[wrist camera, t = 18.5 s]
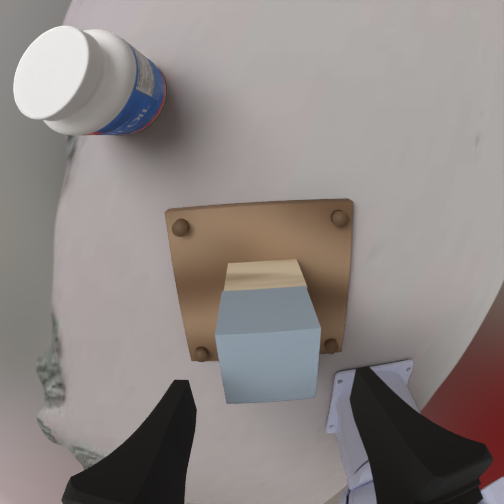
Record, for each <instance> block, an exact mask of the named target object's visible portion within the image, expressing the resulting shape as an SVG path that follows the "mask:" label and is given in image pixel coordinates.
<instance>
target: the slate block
mask: <svg viewBox="0 0 504 504" xmlns="http://www.w3.org/2000/svg"><path fill="white" fill-rule="evenodd" d="M320 336H321V326H320V324H319V321H318V318H317V315H316V313H315V310H314V307H313V304H312V302H311V299H310V296H309V293H308V291H307V288H306V286H298V287H284V288H269V289H254V290H237V291H222V294H221V300H220V306H219V312H218V318H217V324H216V331H215V339H216V345H217V352H218V358H219V363H220V369H221V375H222V381H223V386H224V392H225V397H226V403H227V404H238V403H261V402H276V401H288V400H299V399H308V398H315V393H316V383H317V373H318V361H319V349H320Z"/></svg>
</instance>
